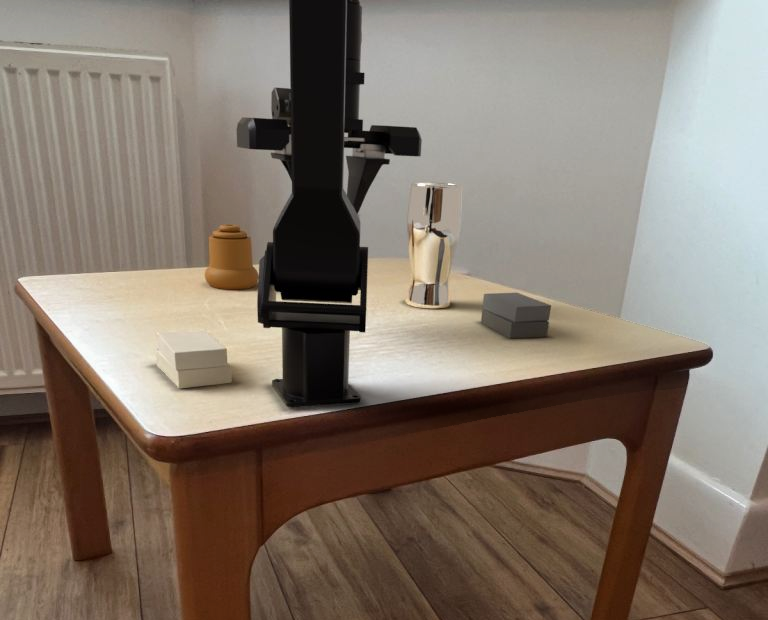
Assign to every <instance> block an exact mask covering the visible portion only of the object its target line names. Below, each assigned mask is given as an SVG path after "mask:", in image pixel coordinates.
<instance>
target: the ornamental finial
mask: <svg viewBox="0 0 768 620" xmlns="http://www.w3.org/2000/svg"><path fill="white" fill-rule="evenodd" d="M208 244H209V245H208V251H209V254H208V255H209V257H208V258H209V265H208V266H207V267H206V268H205V271H204V279H205V281H206V283H207V284H208V285H209V286H210V287H212V288H216V289H219V290H220V289H221V290H245V289H246V290H247V289H252V288H254V287H255V286H256V285H257V284H258V278H259V271H258V270H257V268H256V267H255V266H254V263H253V261H254V260H253V249H252V237H250V236H248V233H247V232H246V231H245V230H241V227H240V226H239V225H237V224H230V223H228V224H225V223H224V224H221V225H219V227H218V229H216V230H214V231H212V235H209V236H208Z"/></svg>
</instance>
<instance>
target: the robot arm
mask: <svg viewBox="0 0 768 620" xmlns="http://www.w3.org/2000/svg"><path fill="white" fill-rule="evenodd" d="M288 7H289V8H288V10H289V11H288V12H289V13H288V14H289V19H288V20H289V21H288V22H289V71H290V72H289V76H290V77H289V79H290V81H289V82H290V83H289V84H290V85H289V86H290V88H289V87H288V88H287V87H273V89H272V91H271V98H270V99H271V101H270V103H271V105H270V106H271V109H270V110H271V111H270V112H271V118H263V117H241V118H240V120H239V121H238V122H237V124H236V147H237V148H240V149H248V150H258V151H259V150H261V151H274V152H270V156H271V159H273V160H279V161H280V162H281V163H282V165H283V167H284V169H285V170H286V172H287V173H288V176H289V179H290V182H291V193H290V195H289V196H288V198H287V200H286V202H285V203H284V206H283V208H282V209H281V211H280V213H279V215H278V217H277V220H276V222H275V224H274V226H273V229H272V241H268V242H267V243H266V249H265V250H264V255H263V256H262V257H261V258H260V259H259V264H258V282H257V297H256V298H257V300H256V301H257V303H256V306H257V307H256V308H257V312H256V313H257V323H258V324H261V325H262V328H263V329H271V328H277V329H278V328H281V357H282V358H281V359H282V361H281V362H282V363H281V366H282V367H281V368H282V370H281V371H282V378H275V379H272V380H271V386H272V388H273V389H274V390H275V392H276V393H277V395H278V396H279V397H280V399H281V400H282V402H283V403H284V405H285V406H286V407H288V408H293V409H294V408H306V407H319V406H320V407H321V406H334V405H347V404H359V403H361V402H362V396H361V395H360V394H359V393H358V392H357V391H356V390H355V389H354V388H353V387H352V386H351V384H349V377H350V376H349V373H350V372H349V371H350V345H351V343H350V339H351V338H350V337H351V332H358V333H366V329H367V328H366V327H367V326H366V325H367V302H368V301H367V299H368V271H369V269H368V268H369V246H361V218H360V219H359V218H358V215H357V214H359V212H360V210H361V207H362V205H363V203H364V201H365V199H366V196H367V194H368V191H369V189H370V188H371V186H372V184H373V183H374V181H375V179H376V177H377V175H378V174H379V171H380V170H381V168H382V166H384V165H390V163H391V159H390V158H385V155H386V154H388V155H393V156H397V157H398V156H400V157H421V156H422V141H423V140H422V137H421V134H420V132H419V129H418V128H417V127H415V126H400V125H399V126H398V125H380V124H379V125H378V124H377V125H376V124H371V125H370V128H369V130H364V119H360V91H361V89H360V88H361V87H360V86H363V85H365V72H361V57H362V41H363V33H362V32H363V31H362V28H363V27H362V23H363V19H362V18H363V7H362V5H361V1H360V0H288ZM345 134H347V136H345ZM345 149H352V151H351V152H352V155H345ZM345 160H346V165H347V171H348V175H347V189H346V190H345V189H344V172H345V171H344V168H345V167H344V165H345V163H344V162H345ZM359 291H360V293H359ZM277 293H280V298H281V300H282V301H279V300H278V301H277ZM358 294H359V295H360V296H359V304H353V297H355V296H356V297H357V295H358Z"/></svg>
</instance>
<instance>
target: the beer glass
mask: <svg viewBox="0 0 768 620" xmlns="http://www.w3.org/2000/svg"><path fill="white" fill-rule="evenodd" d="M463 187H464V186H463V185H462V184H457V183H449V182H437V181H436V182H435V181H413V182H412V181H411V183H410V191H409V198H408V199H409V200H408V206H407V218H406V219H407V220H406V221H407V222H406V233H407V235H406V236H407V247H408V258H409V283H408V287H407V290H406V291H407V292H406V295H405V303H406V304H407V306H411V307H414V308H420V309H421V308H422V309H432V310H433V309H435V310H436V309H445V308H448V307H450V305H451V298H450V297H451V295H450V276H451V275H450V274H451V270H452V266H453V261H454V258H455V253H456V250H457V245H458V242H459V237H460V233H461V224H462V213H463Z"/></svg>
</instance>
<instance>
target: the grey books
mask: <svg viewBox="0 0 768 620" xmlns="http://www.w3.org/2000/svg"><path fill="white" fill-rule="evenodd" d="M482 298H483V299H482V310H481V316H480V317H481V319H480V324H482V325H483V326H486V327H488V328H489V329H492V330H493V331H495V332H497V333H499V334H500V335H503V336H504V337H506V338H508V339H527V338H528V339H529V338H547V337H548V332H549V324H550V316H551V309H552V305H551V304H549V303H546V302H544V301H540V300H538V299H535V298H532V297H530V296H527V295H525V294H522V293H519V292H497V293H496V292H495V293H484V294H483V297H482Z"/></svg>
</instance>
